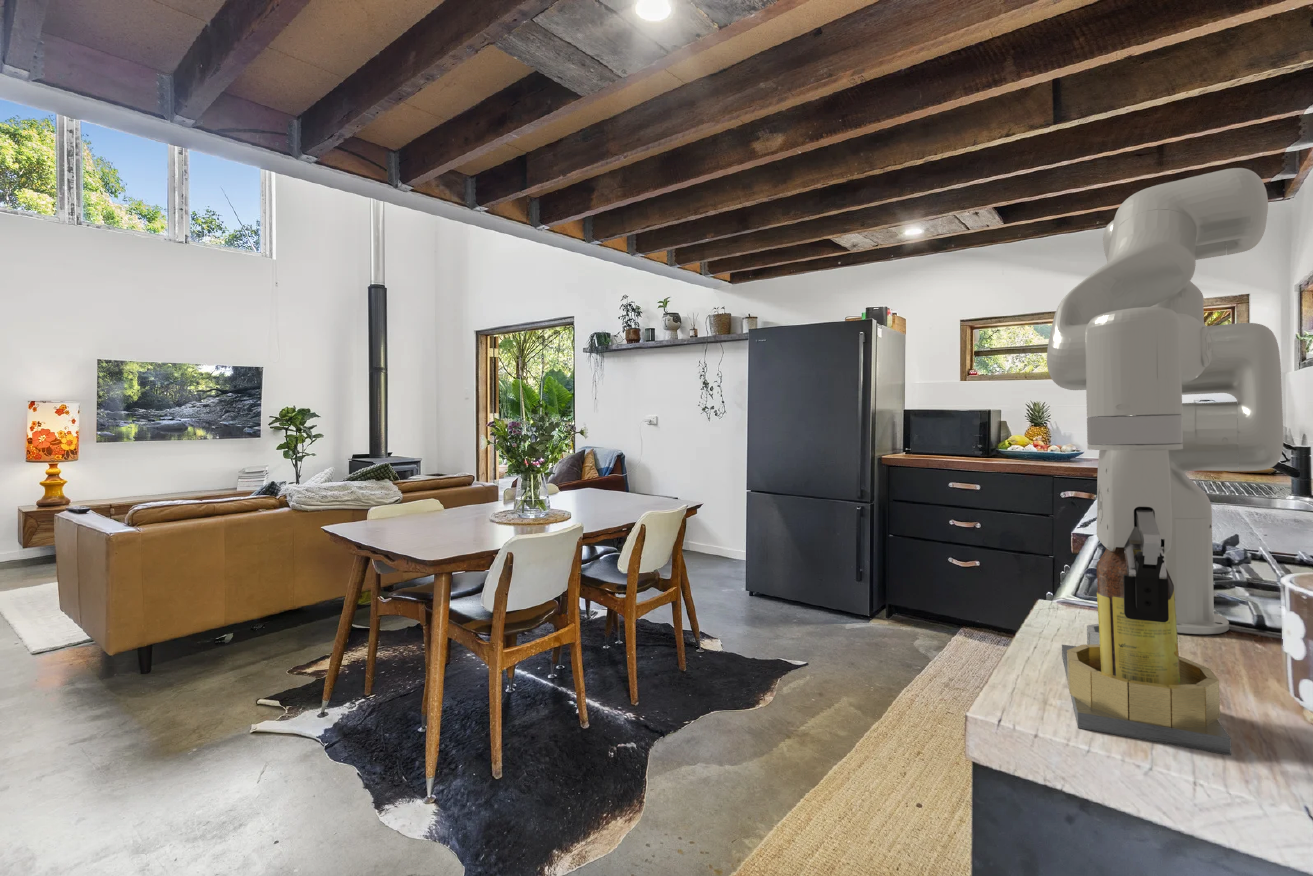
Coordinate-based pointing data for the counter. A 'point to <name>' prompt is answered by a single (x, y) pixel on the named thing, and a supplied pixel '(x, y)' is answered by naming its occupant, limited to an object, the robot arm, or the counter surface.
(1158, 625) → the sauce bottle
